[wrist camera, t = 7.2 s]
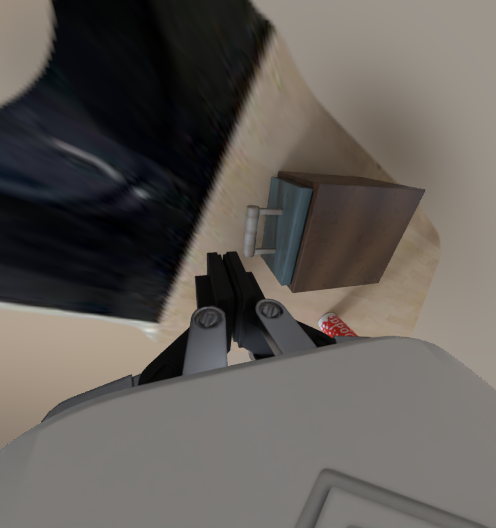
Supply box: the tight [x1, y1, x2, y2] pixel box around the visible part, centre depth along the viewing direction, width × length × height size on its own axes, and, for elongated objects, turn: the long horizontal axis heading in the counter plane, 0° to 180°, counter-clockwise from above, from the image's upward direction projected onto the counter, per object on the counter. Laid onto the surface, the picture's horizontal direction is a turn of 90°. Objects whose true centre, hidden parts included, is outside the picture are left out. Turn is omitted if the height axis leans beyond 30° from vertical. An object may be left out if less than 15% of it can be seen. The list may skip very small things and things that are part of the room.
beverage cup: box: [318, 313, 357, 338], centre depth 40 cm, size 6×6×14 cm
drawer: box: [243, 177, 314, 286], centre depth 26 cm, size 17×11×8 cm
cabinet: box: [278, 171, 425, 293], centre depth 27 cm, size 14×13×10 cm
